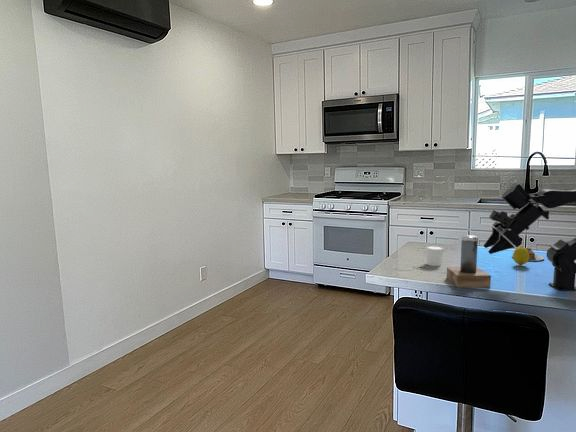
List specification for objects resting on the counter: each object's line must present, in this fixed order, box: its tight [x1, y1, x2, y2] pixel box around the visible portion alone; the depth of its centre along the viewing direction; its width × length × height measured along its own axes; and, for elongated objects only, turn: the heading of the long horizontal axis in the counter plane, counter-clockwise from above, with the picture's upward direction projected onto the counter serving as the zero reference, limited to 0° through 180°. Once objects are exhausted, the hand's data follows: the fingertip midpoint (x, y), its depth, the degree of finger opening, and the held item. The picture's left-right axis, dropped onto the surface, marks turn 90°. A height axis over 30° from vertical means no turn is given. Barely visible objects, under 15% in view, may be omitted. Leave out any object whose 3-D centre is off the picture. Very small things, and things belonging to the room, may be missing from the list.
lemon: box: [512, 245, 529, 267], centre depth 168 cm, size 6×6×8 cm
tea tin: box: [459, 234, 479, 273], centre depth 147 cm, size 5×5×12 cm
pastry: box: [511, 247, 545, 262], centre depth 180 cm, size 12×12×5 cm
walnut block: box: [446, 266, 492, 288], centre depth 148 cm, size 11×11×4 cm
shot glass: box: [425, 245, 444, 267], centre depth 173 cm, size 7×7×7 cm
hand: (486, 249), depth 145 cm, fingers open, 9 cm apart
